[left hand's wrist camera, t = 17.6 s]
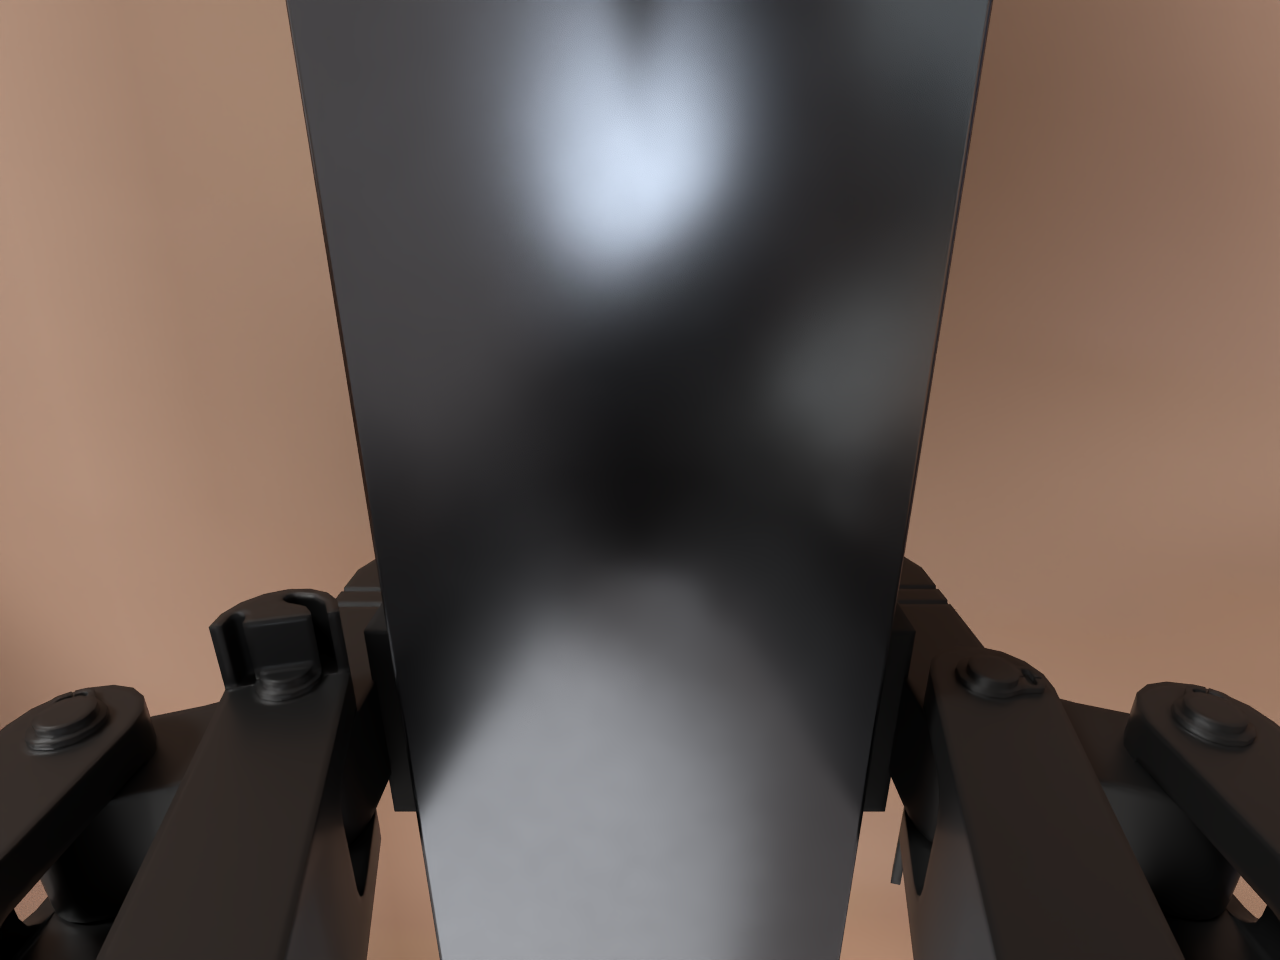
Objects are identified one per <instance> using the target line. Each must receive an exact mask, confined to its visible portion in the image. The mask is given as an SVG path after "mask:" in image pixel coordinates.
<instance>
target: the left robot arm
mask: <svg viewBox="0 0 1280 960" xmlns="http://www.w3.org/2000/svg"><path fill="white" fill-rule="evenodd" d="M209 630H210V634H211V637H212V641H213V645H214V648H215V652H216V656H217V660H218V663H219V667H220V671H221V674H222V678H223V682H224V686H225V689H226V690H225V692H224V694H223V696H222V698H221V700H220V702H217V703H213V704H210V705H206V706H201V707H196V708H191V709H186V710H181V711H177V712H172V713H167V714H162V715H157V716H152V717H150V714H149V711H148V708H147V705H146V702H145V699H144V696H143V695H142V694H140V693H139V692H138V691H137V690H135V689H134V688H131V687H125V686H118V685H109V686H100V687H91V688H85V689H80V690H75V692H69V693H66V694H63V695H60V696H57V697H55V698H53V699H52V700H50V701H48V702H46V703H44V704H41V705H39V706H37V707H35V708H33V709H31V710H29V711H28V712H26V713H25V714H23V715H22V716H20V717H19V718H17V719H16V720H14V721H13V722H11V723H10V724H8V725H7V726H5V727H4V728H3V729H2V730H1V731H0V960H367V952H368V943H369V935H370V927H371V918H372V910H373V902H374V893H375V885H376V877H377V868H378V860H379V852H380V843H381V835H380V827H379V821H378V816H377V810H376V807H377V805H378V803H379V801H380V798H381V796H382V794H383V791H384V789H385V787H386V785H387V782H388V780H389V782H390V787H391V793H392V799H393V805H394V810H395V811H416V807H415V801H414V795H413V789H412V782H411V776H410V770H409V764H408V758H407V751H406V745H405V739H404V733H403V726H402V720H401V714H400V708H399V702H398V695H397V689H396V683H395V677H394V671H393V664H392V658H391V652H390V646H389V639H388V633H387V627H386V621H385V615H384V608H383V602H382V596H381V590H380V584H379V577H378V571H377V565H376V559H375V560H373V561H372V562H370V563H368V564H367V565H365V566H364V567H362V568H360V569H359V570H358V571H357V572H356V573H355V575H354V576H353V577H352V578H351V580H350V581H349V582H348V584H347V585H346V586H345V587H344V591H341V593H340V594H339V595H338V596H337V598H336V599H335V598H334V597H332V596H331V595H330V594H329V593H327V592H322V591H318V590H313V589H287V590H282V591H277V592H272V593H267V594H263V595H260V596H257V597H255V598H252V599H249V600H247V601H244V602H241V603H239V604H238V605H236V606H234V607H232V608H231V609H229V610H227V611H226V612H224V613H222V614H221V615H220V616H219V617H218V618H217V619H216V620H215V621H214V622H213V623H212V624H211V625H210V626H209ZM891 778H892V780H893V782H894V784H895V787H896V789H897V791H898V794H899V796H900V798H901V800H902V803H903V805H904V810H903V816H902V821H901V827H900V832H899V837H898V843H897V848H896V853H895V859H894V864H893V870H892V877H891V883H893V884H898V885H900V883H901V878H902V872H903V875H904V883H905V892H906V900H907V908H908V916H909V925H910V933H911V941H912V950H913V958H914V960H1280V727H1279V726H1278V725H1277V724H1276V723H1275V722H1273V721H1272V720H1270V719H1269V718H1267V717H1266V716H1264V715H1263V714H1261V713H1260V712H1258V711H1257V710H1255V709H1254V708H1252V707H1250V706H1249V705H1247V704H1244V703H1242V702H1240V701H1238V700H1235V699H1233V698H1231V697H1229V696H1228V695H1226V694H1224V693H1222V692H1219V691H1216V690H1213V689H1210V688H1209V689H1206V688H1205V687H1202V686H1197V685H1193V684H1183V683H1174V682H1161V683H1154V684H1147V685H1146V686H1145V687H1144V688H1142V689H1141V690H1140V691H1138V692H1137V694H1136V697H1135V700H1134V703H1133V706H1132V709H1131V712H1130V714H1129V713H1124V712H1119V711H1114V710H1109V709H1104V708H1099V707H1094V706H1089V705H1084V704H1079V703H1074V702H1070V701H1067V700H1063V699H1059V697H1058V695H1057V692H1056V690H1055V688H1054V687H1053V686H1052V685H1051V683H1050V682H1049V681H1048V680H1047V678H1046V677H1045V676H1044V675H1043V674H1042V673H1041V672H1039V671H1038V670H1036V669H1035V668H1033V667H1032V666H1031V665H1029V664H1028V663H1026V662H1025V661H1022V660H1020V659H1018V658H1015V657H1013V656H1011V655H1008V654H1006V653H1004V652H1000V651H996V650H992V649H987V648H984V646H983V645H982V644H981V643H980V641H979V640H978V639H977V638H976V636H975V635H974V634H973V632H972V631H971V630H970V629H969V627H968V626H967V625H966V623H965V622H964V621H963V620H962V618H961V617H960V616H959V615H958V613H957V612H956V611H955V609H954V608H953V607H952V606H951V604H948V603H947V599H946V598H945V597H944V595H943V594H942V593H941V592H940V590H939V589H936V585H935V584H934V583H933V581H932V580H931V579H930V578H929V576H928V575H927V574H926V572H925V571H924V570H923V569H922V567H920V566H918V565H917V564H915V563H913V562H912V561H910V560H909V559H907V558H905V557H904V560H903V566H902V572H901V578H900V585H899V591H898V597H897V603H896V610H895V616H894V622H893V628H892V635H891V641H890V647H889V653H888V660H887V666H886V672H885V678H884V685H883V691H882V697H881V703H880V710H879V716H878V722H877V728H876V735H875V741H874V747H873V753H872V760H871V766H870V772H869V778H868V785H867V791H866V797H865V803H864V810H863V811H885V808H886V802H887V796H888V790H889V784H890V779H891ZM1240 876H1242V877H1243V879H1244V880H1245V881H1246V882H1247V883H1248V884H1249V885H1250V886H1251V887H1252V889H1253V890H1254V891H1255V892H1256V893H1257V894H1258V895H1259V896H1260V897H1261V899H1262V900H1263V901H1264V902H1265V903H1266V904H1267V906H1266V908H1265V911H1264V913H1263V915H1262V916H1261V917H1260V918H1259V919H1258V918H1256V917H1254V916H1253V915H1252V914H1251V913H1250V912H1249V911H1248V910H1247V909H1246V908H1245V907H1244V906H1243V905H1242V904H1241V903H1240V901H1239V900H1238V899H1237V898H1236V897H1235V896H1234V895H1233V892H1234V889H1235V887H1236V885H1237V883H1238V880H1239V878H1240ZM39 880H41V882H42V884H43V886H44V889H45V891H46V893H47V895H48V897H47V898H46V899H45V900H44V902H43V903H42V904H41V905H40V906H39V907H38V909H37V910H36V911H35V912H34V913H32V914H31V915H30V916H29V917H28V918H26V919H25V920H24V921H23V922H22V921H21V920H19V919H18V916H17V914H16V912H15V910H14V908H15V907H16V906H17V905H18V903H19V902H20V901H21V900H22V899H23V898H24V897H25V896H26V894H27V893H28V892H29V891H30V890H31V889H32V888H33V887H34V885H35V884H36V883H37V882H38V881H39Z"/></svg>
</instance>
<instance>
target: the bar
mask: <svg viewBox="0 0 1280 960" xmlns="http://www.w3.org/2000/svg"><path fill="white" fill-rule="evenodd" d="M992 3H993V0H286V6H287V12H288V18H289V24H290V30H291V37H292V43H293V49H294V55H295V61H296V68H297V74H298V80H299V86H300V93H301V99H302V105H303V111H304V117H305V124H306V130H307V136H308V142H309V148H310V155H311V161H312V167H313V173H314V180H315V186H316V192H317V198H318V204H319V211H320V217H321V223H322V229H323V235H324V242H325V248H326V254H327V260H328V267H329V273H330V279H331V285H332V291H333V298H334V304H335V310H336V316H337V322H338V329H339V335H340V341H341V347H342V354H343V360H344V366H345V372H346V378H347V385H348V391H349V397H350V403H351V409H352V416H353V422H354V428H355V434H356V441H357V447H358V453H359V459H360V465H361V472H362V478H363V484H364V490H365V497H366V503H367V509H368V515H369V521H370V528H371V534H372V540H373V546H374V552H375V559H376V565H377V571H378V577H379V584H380V590H381V596H382V602H383V608H384V615H385V621H386V627H387V633H388V639H389V646H390V652H391V658H392V664H393V671H394V677H395V683H396V689H397V695H398V702H399V708H400V714H401V720H402V726H403V733H404V739H405V745H406V751H407V758H408V764H409V770H410V776H411V782H412V789H413V795H414V801H415V807H416V813H417V820H418V826H419V832H420V838H421V845H422V851H423V857H424V863H425V869H426V876H427V882H428V888H429V894H430V900H431V907H432V913H433V919H434V925H435V932H436V938H437V944H438V950H439V956H440V960H840V953H841V947H842V941H843V935H844V928H845V922H846V916H847V910H848V903H849V897H850V891H851V885H852V878H853V872H854V866H855V860H856V853H857V847H858V841H859V835H860V828H861V822H862V816H863V810H864V803H865V797H866V791H867V785H868V778H869V772H870V766H871V760H872V753H873V747H874V741H875V735H876V728H877V722H878V716H879V710H880V703H881V697H882V691H883V685H884V678H885V672H886V666H887V660H888V653H889V647H890V641H891V635H892V628H893V622H894V616H895V610H896V603H897V597H898V591H899V585H900V578H901V572H902V566H903V560H904V553H905V547H906V541H907V535H908V528H909V522H910V516H911V510H912V503H913V497H914V491H915V485H916V478H917V472H918V466H919V460H920V453H921V447H922V441H923V435H924V428H925V422H926V416H927V410H928V403H929V397H930V391H931V385H932V378H933V372H934V366H935V360H936V353H937V347H938V341H939V335H940V328H941V322H942V316H943V310H944V303H945V297H946V291H947V285H948V278H949V272H950V266H951V260H952V253H953V247H954V241H955V235H956V228H957V222H958V216H959V210H960V203H961V197H962V191H963V185H964V178H965V172H966V166H967V160H968V153H969V147H970V141H971V135H972V128H973V122H974V116H975V110H976V103H977V97H978V91H979V85H980V78H981V72H982V66H983V60H984V53H985V47H986V41H987V35H988V28H989V22H990V16H991V10H992Z"/></svg>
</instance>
